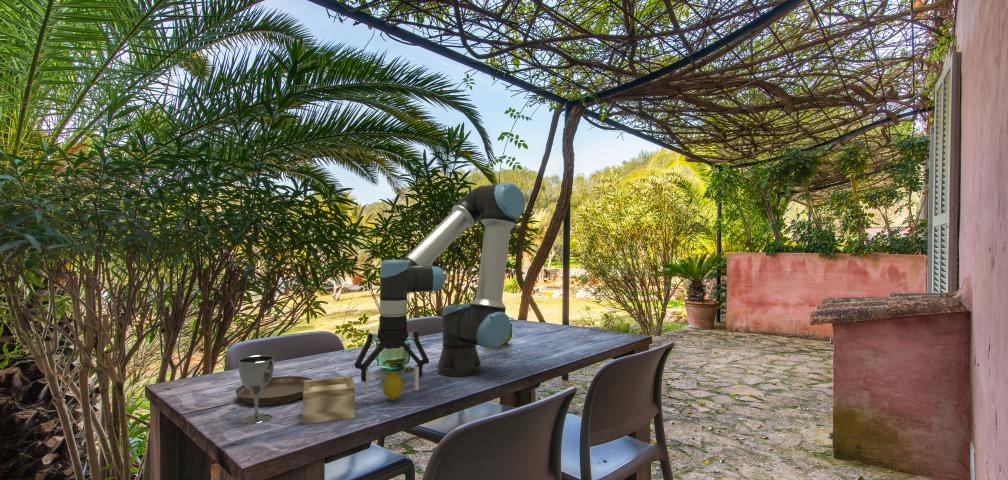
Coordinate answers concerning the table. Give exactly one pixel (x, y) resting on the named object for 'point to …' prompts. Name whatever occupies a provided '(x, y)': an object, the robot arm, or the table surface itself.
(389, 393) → the lemon
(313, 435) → the table surface
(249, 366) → the wine glass
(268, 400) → the plant saucer
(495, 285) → the robot arm
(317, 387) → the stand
